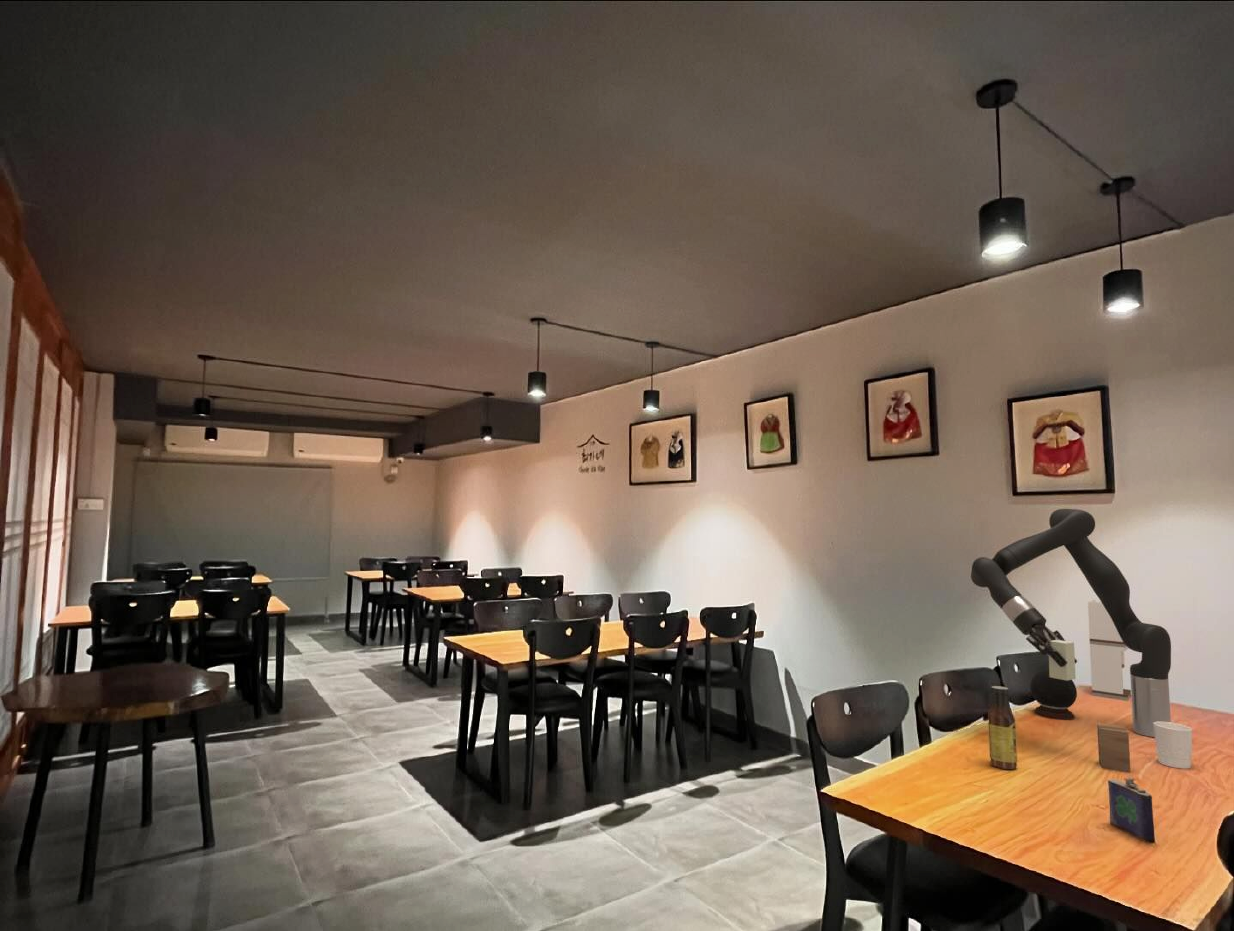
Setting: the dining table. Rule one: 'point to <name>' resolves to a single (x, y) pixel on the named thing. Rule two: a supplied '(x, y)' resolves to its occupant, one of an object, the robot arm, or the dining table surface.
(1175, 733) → the white cup
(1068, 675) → the sage block
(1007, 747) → the sauce bottle
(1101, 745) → the tower upper
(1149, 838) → the flask
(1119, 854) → the dining table surface
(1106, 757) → the tower lower
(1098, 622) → the mini white fridge
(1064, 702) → the black oval
